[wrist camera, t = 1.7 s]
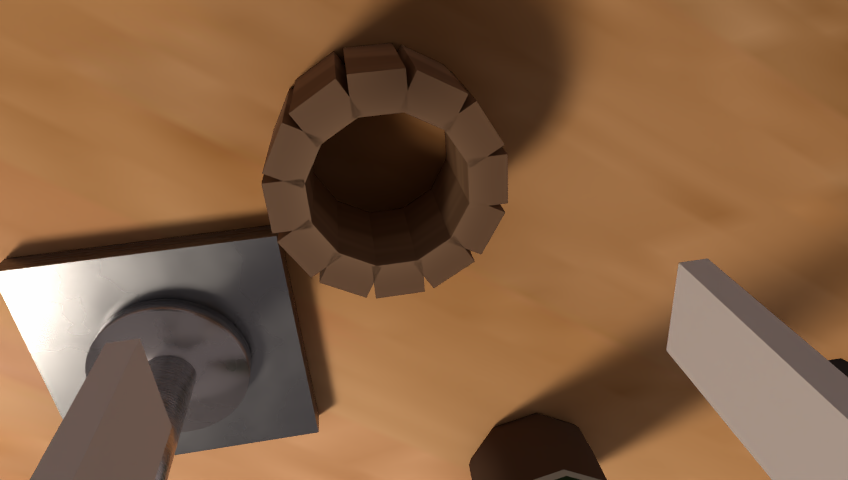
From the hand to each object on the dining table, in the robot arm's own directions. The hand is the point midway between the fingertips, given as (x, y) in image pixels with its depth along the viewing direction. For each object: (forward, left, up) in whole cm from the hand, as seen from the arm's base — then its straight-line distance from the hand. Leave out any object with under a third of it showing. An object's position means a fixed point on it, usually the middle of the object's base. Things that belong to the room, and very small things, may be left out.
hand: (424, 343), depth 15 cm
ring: (0, 0, -14) cm, 14 cm away
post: (+9, -11, -14) cm, 20 cm away
